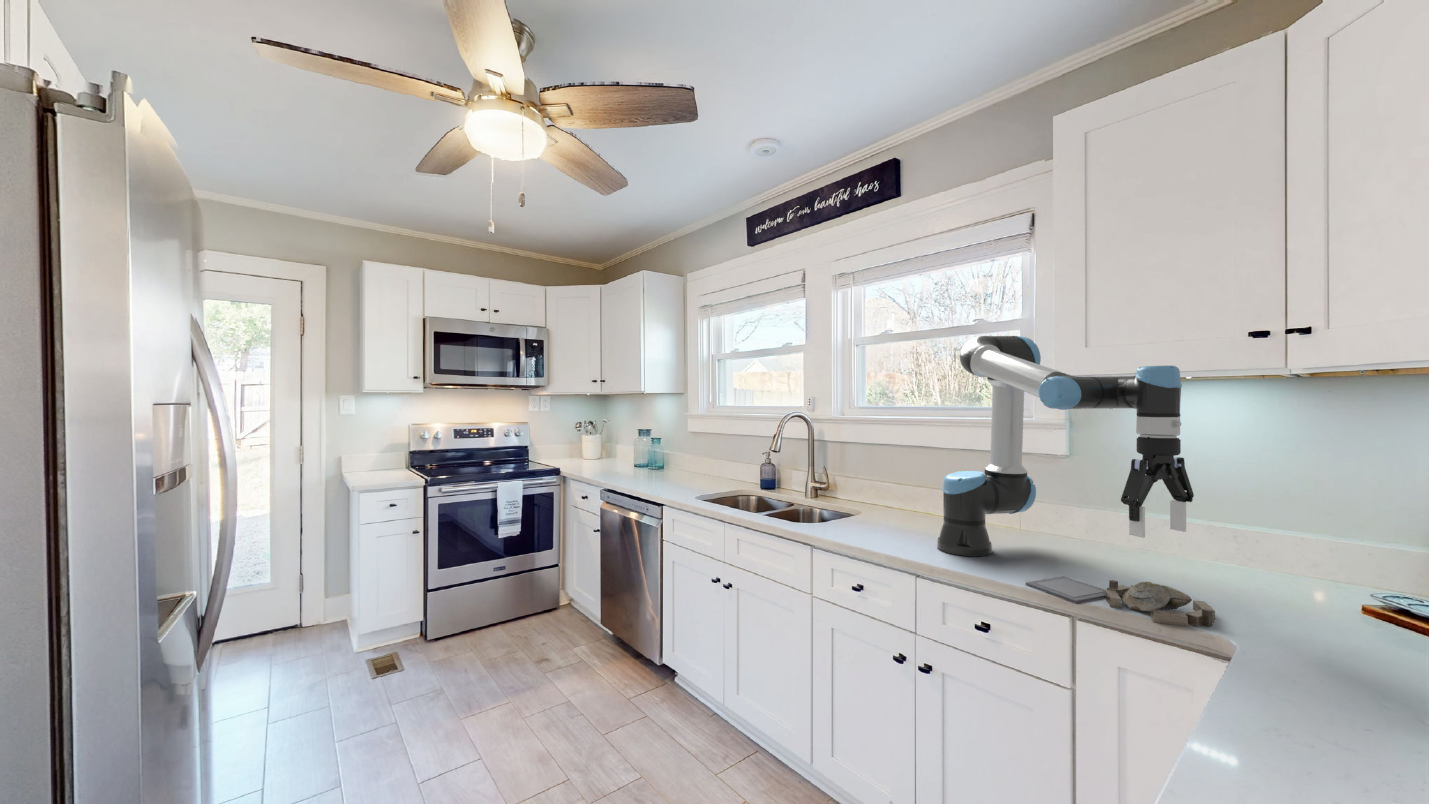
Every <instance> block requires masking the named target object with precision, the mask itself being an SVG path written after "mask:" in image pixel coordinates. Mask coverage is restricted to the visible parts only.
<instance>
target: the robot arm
mask: <svg viewBox="0 0 1429 804" xmlns="http://www.w3.org/2000/svg"><path fill="white" fill-rule="evenodd" d="M1041 361H1042V360H1041V351H1040V348H1039V347H1038V345H1037V344H1036V343H1035V342H1034V340H1033V339H1031V338H1029V337H1026V336H1017V335H979V336H976V337H973V338H971V339H970V340H968V341H967V342H965V344H963V346H962V348H961V350H960V353H959V362H960V365H961V366H962V368H963V369H964V370H965V371H966V372H968V373H969V374H971V375H973V376H975V377H978V378H986V379H987V382H988V383H989V384H990V385H991V386H992V394H991V427H990V428H991V429H990V430H991V431H990V459H989V460H990V462H989V463H988V465H986V466H985V467H984V472H983V471H979V470H968V471H967V470H963V471H955V472H954V471H953V472H950V473H948V474H947V475H945V477H944V478H943V484H942V485H943V487H942V492H943V499H942V500H943V504H942V505H943V523H942V526H941V530H940V533H939V536H938V537H937V545H936V547H937V548H938V549H939V550H940V551H942V552H944V553H948V554H952V555H956V556H957V555H958V556H964V557H986V556H989V555H991V554H992V553H993V544H992V542H991V541H990V537H989V534H988V533H989V532H988V529H987V526H986V515H994V514H995V515H998V514H999V515H1000V514H1001V515H1002V514H1008V515H1014V514H1017V513H1024V512H1027V510H1029V509H1030V508H1031V507H1032V506H1033V505H1034V502H1035V501H1036V498H1037V497H1036V496H1037V489H1036V488H1037V487H1036V484H1034V480H1033V479H1032V477H1030V476H1029V475H1028V470H1027V469H1026V468H1025V467H1024V466H1023V442H1024V441H1023V440H1024V439H1023V438H1024V436H1023V435H1024V411H1025V410H1024V409H1025V408H1024V407H1025V406H1024V404H1025V393H1027V394H1029V395H1032V396H1035V397H1037V398H1039V400H1040V401H1041V402H1042V403H1043V405H1044V406H1045V407H1047V408H1048V409H1053V410H1054V409H1055V410H1065V411H1066V410H1079V409H1080V410H1082V409H1083V410H1084V409H1086V410H1087V409H1109V410H1110V409H1112V410H1113V409H1134V410H1135V409H1136V424H1135V425H1136V427H1135V428H1136V430H1135V431H1136V432H1135V433H1136V434H1137V435H1139V436H1138V437H1136V453H1138V454H1140V455H1142V459H1136V458H1133V459H1131V461H1130V462H1131V463H1130V470H1129V474H1128V477H1127V480H1126V483H1125V485H1124V489H1123V491H1122V495H1121V497H1120V502H1121V503H1123V505H1128V519H1129V521H1128V522H1129V525H1128V526H1129V527H1128V528H1129V529H1128V530H1129V531H1128V535H1129V536H1134V537H1137V538H1141V539H1142V538H1146V506H1143V505H1144V503H1145V500H1146V498H1147V496H1148V495H1149V493H1150V491H1151V489H1152V487H1153V485H1154V483H1157V482H1158V481H1159V480H1162V482H1163V484H1164V485H1165V487H1166V489H1167V490H1168V492H1169V494H1170V496H1171V497H1172V499H1170V501H1169V502H1170V503H1169V504H1170V507H1169V508H1170V509H1169V512H1170V513H1169V516H1170V517H1169V522H1170V523H1169V526H1170V528H1169V529H1170V530H1173V531H1178V532H1182V533H1187V503H1192V502H1193V499H1194V496H1195V494H1194V491H1193V488H1192V484H1191V482H1190V479H1189V476H1188V472H1187V470H1186V464H1185V458H1184V457H1181V456H1180V455H1181V452H1182V451H1181V446H1182V445H1181V441H1182V440H1181V439H1180V438H1179V437H1177V436H1180V435H1181V426H1182V422H1181V396H1182V387H1183V386H1182V381H1181V370H1180V369H1179V366H1178V367H1177V366H1176V365H1146V366H1139V367H1138V368H1137V369H1136V374H1135V375H1134V376H1133V375H1131V376H1130V375H1129V376H1128V375H1127V376H1125V375H1124V376H1123V375H1122V376H1111V375H1109V376H1078V375H1077V376H1075V375H1072V374H1071V375H1070V374H1067V373H1065V372H1062V371H1059V370H1056V369H1053V368H1050V367H1047V366H1044V365H1041ZM1178 456H1179V457H1178Z"/></svg>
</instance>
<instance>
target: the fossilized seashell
mask: <svg viewBox="0 0 1429 804" xmlns="http://www.w3.org/2000/svg"><path fill="white" fill-rule="evenodd" d="M1133 585H1134V586H1132V587H1131V586H1129V587H1130V589H1129V590H1128V591H1126V592H1125V594H1124V595H1123V598H1122V603H1123V605H1124V606H1125V607H1127V608H1128V609H1130V610H1134V611H1139V612H1151V609H1155V610H1162V611H1163V610H1166V611H1168V610H1169V611H1171V610H1177V609H1179V608H1182V607H1185V606H1187V605H1188V604H1190V603H1191V602H1193V599H1192V598H1191V597H1190V596H1189V595H1188V594H1186V593H1184V592H1183V591H1181V590H1178V589H1175V588H1173V587H1169V586H1167V585H1163V584H1158V583H1153V582H1151V581H1142V582H1141V581H1140V582H1137V583H1135V584H1133Z"/></svg>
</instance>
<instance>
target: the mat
mask: <svg viewBox="0 0 1429 804" xmlns="http://www.w3.org/2000/svg"><path fill="white" fill-rule="evenodd" d="M1025 586H1027V587H1031V588H1033V589H1036V590H1038V591H1041V592H1043V593H1047V594H1049V595H1052V596H1055V597H1057V598H1060V599H1062V600H1065V601H1068V602H1071V603H1074V604H1080V603H1084V602H1091V601H1095V600H1096V601H1097V600H1101V599H1105V590H1106V589H1103V588H1101V587H1098V586H1095V585H1092V584H1088V583H1086V582H1083V581H1079V580H1077V579H1074V578H1070V577H1067V576H1064V575H1062V576H1057V577H1056V576H1055V577H1050V578H1044V579H1038V580H1033V581H1027V582H1026V581H1025Z"/></svg>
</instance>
